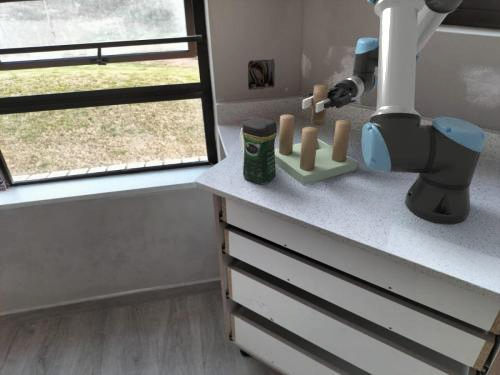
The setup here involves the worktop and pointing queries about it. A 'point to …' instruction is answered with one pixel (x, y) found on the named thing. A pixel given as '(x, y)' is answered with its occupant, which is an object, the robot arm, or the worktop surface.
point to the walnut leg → (318, 96)
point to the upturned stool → (313, 152)
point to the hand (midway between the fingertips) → (310, 106)
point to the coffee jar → (259, 149)
